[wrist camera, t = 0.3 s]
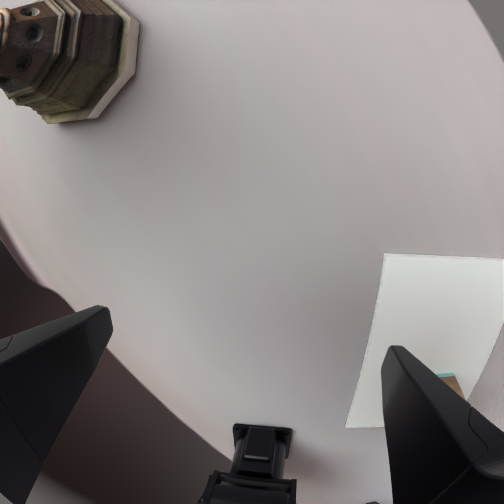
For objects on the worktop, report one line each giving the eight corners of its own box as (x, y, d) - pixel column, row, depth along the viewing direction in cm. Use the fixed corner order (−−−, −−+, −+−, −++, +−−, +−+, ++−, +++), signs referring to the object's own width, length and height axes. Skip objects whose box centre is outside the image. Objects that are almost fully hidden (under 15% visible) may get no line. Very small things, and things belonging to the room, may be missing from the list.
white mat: (455, 415, 27) (456, 418, 27) (345, 424, 29) (345, 427, 29) (520, 259, 20) (523, 261, 20) (384, 253, 22) (385, 255, 22)
